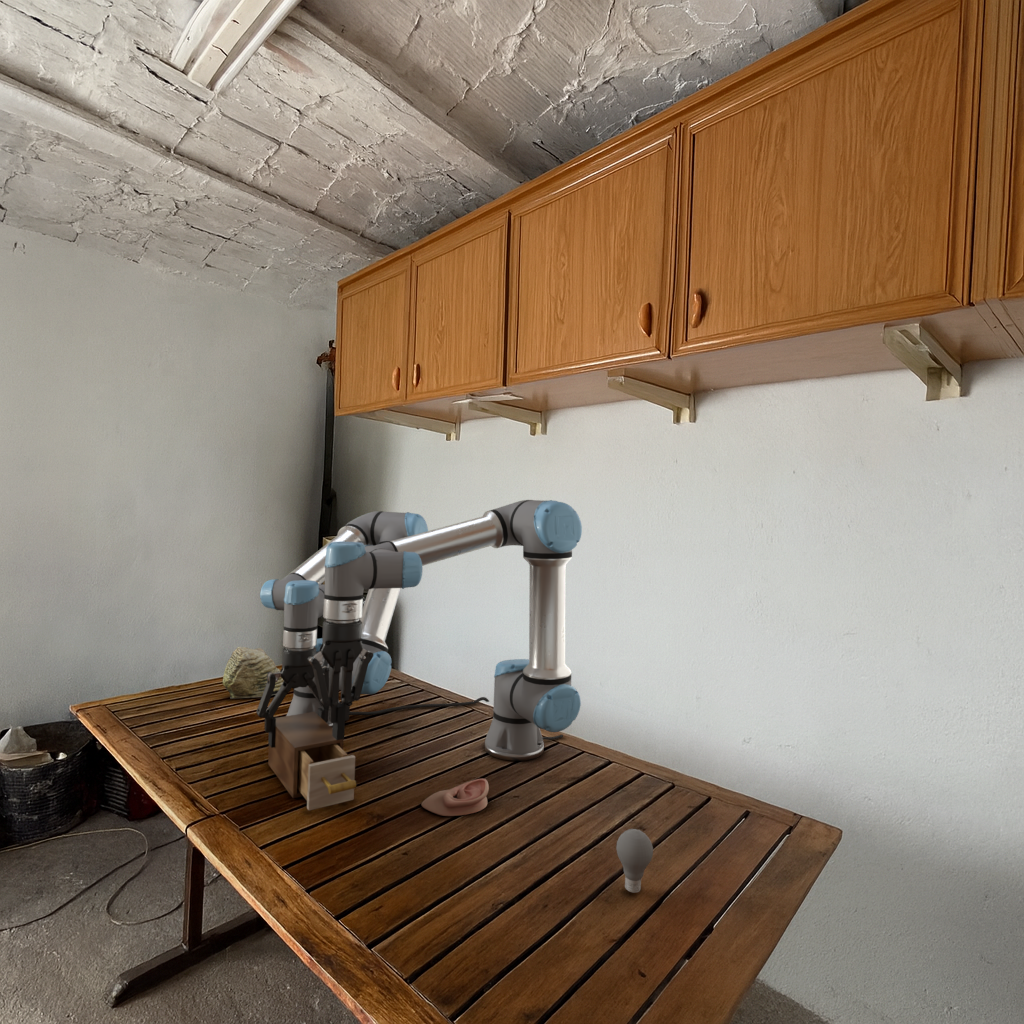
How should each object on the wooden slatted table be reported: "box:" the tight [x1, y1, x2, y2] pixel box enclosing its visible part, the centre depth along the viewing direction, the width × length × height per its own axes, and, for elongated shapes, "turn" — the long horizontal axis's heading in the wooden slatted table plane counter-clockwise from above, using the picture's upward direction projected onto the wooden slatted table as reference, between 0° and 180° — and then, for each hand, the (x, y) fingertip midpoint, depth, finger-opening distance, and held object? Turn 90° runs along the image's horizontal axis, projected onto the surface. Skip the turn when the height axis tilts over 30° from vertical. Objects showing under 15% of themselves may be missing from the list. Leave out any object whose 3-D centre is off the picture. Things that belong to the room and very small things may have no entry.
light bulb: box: [615, 828, 654, 894], centre depth 106 cm, size 6×6×10 cm
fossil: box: [222, 646, 284, 699], centre depth 198 cm, size 9×18×15 cm, turn 132°
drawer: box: [297, 744, 357, 811], centre depth 133 cm, size 25×9×9 cm, turn 35°
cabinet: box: [267, 712, 345, 799], centre depth 143 cm, size 20×10×11 cm, turn 35°
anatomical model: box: [421, 778, 490, 817], centre depth 133 cm, size 13×4×12 cm
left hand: (296, 741), depth 148 cm, fingers closed on cabinet, 10 cm apart
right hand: (338, 737), depth 126 cm, fingers closed
